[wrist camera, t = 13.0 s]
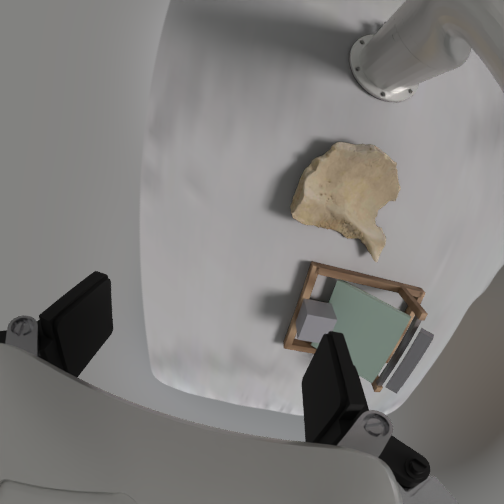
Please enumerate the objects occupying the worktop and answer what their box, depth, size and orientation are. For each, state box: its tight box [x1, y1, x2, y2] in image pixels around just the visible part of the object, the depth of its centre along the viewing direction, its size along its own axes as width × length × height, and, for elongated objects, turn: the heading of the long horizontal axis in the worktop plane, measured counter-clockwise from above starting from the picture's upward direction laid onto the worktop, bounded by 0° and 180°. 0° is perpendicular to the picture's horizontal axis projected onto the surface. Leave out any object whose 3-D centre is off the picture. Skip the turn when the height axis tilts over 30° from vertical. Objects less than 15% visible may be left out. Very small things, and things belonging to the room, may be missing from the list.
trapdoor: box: [311, 279, 434, 393], centre depth 41 cm, size 14×19×2 cm
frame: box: [284, 261, 427, 392], centre depth 42 cm, size 17×23×11 cm
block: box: [295, 298, 337, 343], centre depth 43 cm, size 5×5×5 cm
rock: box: [290, 142, 400, 262], centre depth 38 cm, size 18×15×4 cm
